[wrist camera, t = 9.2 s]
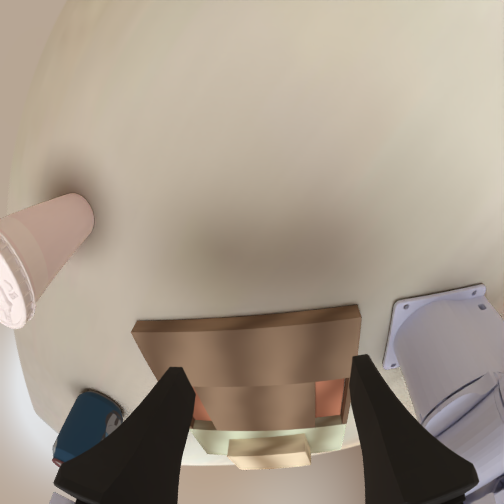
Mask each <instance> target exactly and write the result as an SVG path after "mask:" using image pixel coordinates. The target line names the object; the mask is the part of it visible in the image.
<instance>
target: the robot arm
mask: <svg viewBox="0 0 504 504" xmlns="http://www.w3.org/2000/svg"><path fill="white" fill-rule="evenodd" d="M473 291H474V292H473ZM485 291H486V287H485V285H484V284H480V285H476V286H471V287H467V288H462V289H457V290H452V291H447V292H442V293H437V294H432V295H427V296H421V297H416V298H410V299H404V300H399V301H397V302H396V303H395V304H394V307H393V314H392V320H391V326H390V331H389V337H388V342H387V347H386V352H385V356H384V361H383V368H384V369H392V368H397V367H400V368H401V371H402V374H403V377H404V380H405V383H406V385H407V388H408V391H409V394H410V397H411V401H412V404H413V407H414V410H415V413H416V416H417V420H418V421H417V420H416V419H415V418H414V417H413V416H412V415H411V414H410V413H409V411H408V410H407V409H406V408H405V407H404V406H403V404H402V403H401V402H400V401H399V399H398V398H397V397H396V396H395V394H394V393H393V392H392V390H391V389H390V387H389V386H388V385H387V383H386V382H385V381H384V379H383V378H382V376H381V375H380V373H379V371H378V370H377V368H376V367H375V365H374V363H373V362H372V360H371V358H370V357H369V355H367V354H365V355H358V356H353V357H352V366H351V374H350V382H349V389H350V397H351V405H352V410H353V414H354V418H355V423H356V427H357V431H358V435H359V440H360V444H361V449H362V455H363V463H364V464H363V465H364V478H365V498H366V499H365V502H366V503H365V504H504V320H503V319H502V317H501V316H500V315H499V314H498V312H497V311H496V310H495V308H494V307H493V306H492V305H491V303H490V302H489V301H488V300H487V298H486V297H485V296H484V295H485ZM406 304H407V305H406ZM405 305H406V306H405ZM404 306H405V307H404ZM195 396H196V393H195V391H194V389H193V387H192V385H191V384H190V382H189V380H188V378H187V376H186V374H185V371H184V369H183V367H169V368H168V370H167V371H166V372H165V373H164V375H163V376H162V377H161V378H160V380H159V381H158V382H157V384H156V385H155V386H154V387H153V389H152V390H151V391H150V393H149V394H148V395H147V396H146V397H145V399H144V400H143V401H142V402H141V403H140V405H139V406H138V407H137V408H136V409H135V410H134V411H133V412H132V413H131V415H130V416H129V417H128V418H127V419H126V420H125V421H124V422H123V423H122V424H121V425H120V426H119V427H117V428H116V429H115V430H114V431H113V432H112V433H111V434H109V435H108V436H107V437H106V438H104V439H103V440H102V441H100V442H99V443H98V444H96V445H95V446H93V447H92V448H90V449H89V450H87V451H85V452H84V453H82V454H80V455H78V456H77V457H75V458H73V459H70V460H68V461H66V462H64V463H62V464H61V466H60V468H59V470H58V473H57V475H56V478H55V480H54V485H55V486H56V487H58V488H59V489H61V490H63V491H64V492H66V493H68V494H70V495H71V496H73V497H75V498H76V499H77V500H76V502H73V501H71V500H69V499H67V498H66V497H64V496H62V495H59V494H58V493H56V492H53V495H52V497H51V500H50V503H49V504H177V501H178V485H179V474H180V466H181V460H182V455H183V451H184V447H185V444H186V440H187V436H188V432H189V429H190V425H191V421H192V417H193V413H194V405H195Z"/></svg>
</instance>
